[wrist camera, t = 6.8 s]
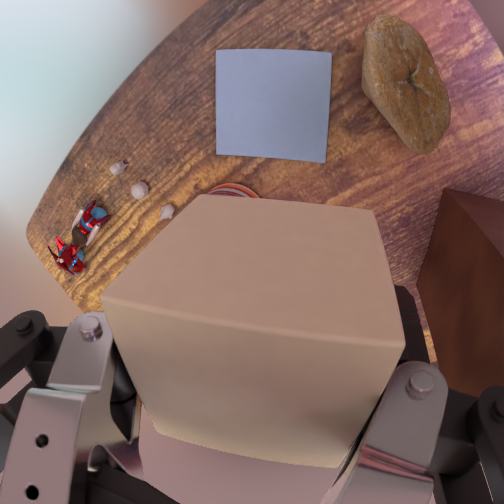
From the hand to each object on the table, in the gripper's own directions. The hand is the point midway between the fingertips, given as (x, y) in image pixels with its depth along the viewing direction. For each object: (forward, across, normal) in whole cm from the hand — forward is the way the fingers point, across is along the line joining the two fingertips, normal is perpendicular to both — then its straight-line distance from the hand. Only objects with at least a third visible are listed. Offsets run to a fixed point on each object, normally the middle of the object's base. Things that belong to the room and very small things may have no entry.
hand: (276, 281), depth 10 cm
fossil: (+18, -7, -7) cm, 20 cm away
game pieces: (+18, +15, +4) cm, 24 cm away
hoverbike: (+18, +24, +10) cm, 32 cm away
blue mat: (+17, +3, -4) cm, 18 cm away
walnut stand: (+17, -17, +6) cm, 25 cm away
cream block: (0, 0, 0) cm, 0 cm away
